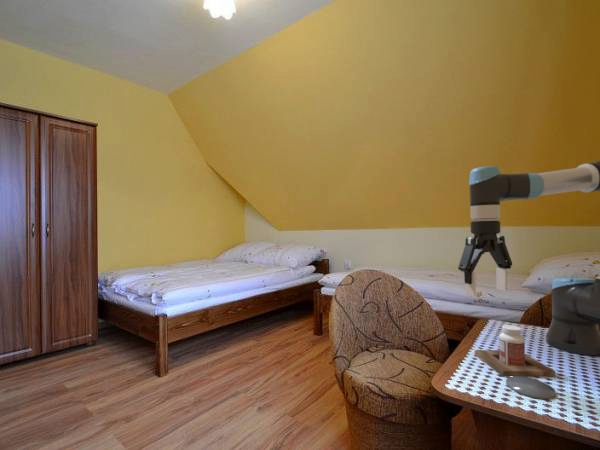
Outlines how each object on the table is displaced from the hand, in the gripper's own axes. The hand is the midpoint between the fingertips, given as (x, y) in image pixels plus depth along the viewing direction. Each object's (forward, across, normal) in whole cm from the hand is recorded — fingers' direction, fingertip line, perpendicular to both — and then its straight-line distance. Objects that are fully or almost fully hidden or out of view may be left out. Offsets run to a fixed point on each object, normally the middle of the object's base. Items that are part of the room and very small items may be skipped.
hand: (486, 292), depth 92 cm
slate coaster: (+21, +3, +13) cm, 25 cm away
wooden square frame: (+21, -6, +3) cm, 22 cm away
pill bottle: (+22, -6, +3) cm, 23 cm away
